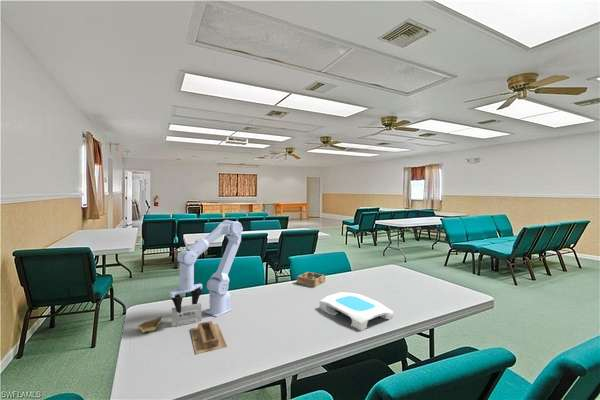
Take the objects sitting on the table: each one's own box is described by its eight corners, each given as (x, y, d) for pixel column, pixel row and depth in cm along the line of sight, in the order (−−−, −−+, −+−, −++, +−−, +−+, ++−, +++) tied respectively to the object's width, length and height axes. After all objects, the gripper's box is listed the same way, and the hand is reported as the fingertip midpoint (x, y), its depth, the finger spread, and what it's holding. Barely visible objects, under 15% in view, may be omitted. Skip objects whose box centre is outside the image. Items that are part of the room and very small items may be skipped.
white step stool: (349, 301, 148) (350, 289, 148) (393, 322, 125) (394, 308, 125) (318, 310, 137) (318, 297, 137) (360, 335, 114) (360, 319, 113)
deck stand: (307, 279, 185) (307, 271, 185) (325, 282, 178) (325, 275, 178) (296, 284, 175) (296, 276, 175) (314, 288, 167) (314, 280, 167)
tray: (217, 324, 120) (217, 317, 120) (227, 348, 102) (227, 340, 102) (190, 330, 116) (190, 322, 115) (195, 355, 98) (195, 347, 98)
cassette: (171, 327, 118) (171, 309, 118) (171, 325, 119) (171, 307, 119) (201, 321, 123) (201, 303, 123) (201, 319, 125) (200, 302, 125)
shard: (163, 318, 124) (162, 314, 124) (171, 324, 120) (171, 320, 119) (136, 328, 116) (136, 324, 116) (144, 334, 111) (144, 330, 111)
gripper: (195, 272, 129) (195, 301, 130) (165, 280, 117) (165, 312, 118) (205, 275, 125) (205, 305, 126) (175, 283, 113) (175, 316, 114)
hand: (186, 309), depth 121 cm, fingers open, 7 cm apart
